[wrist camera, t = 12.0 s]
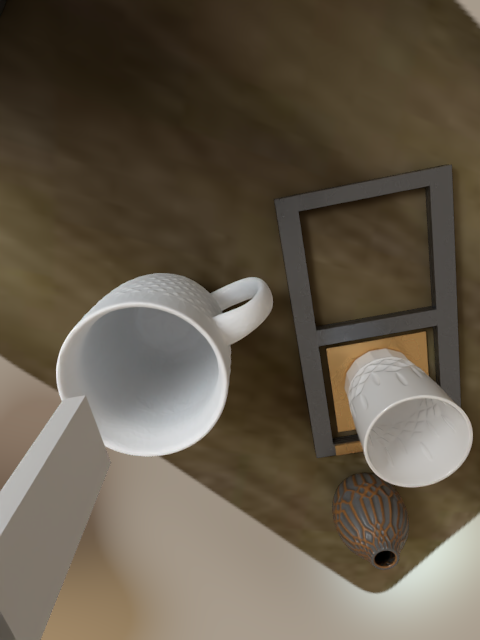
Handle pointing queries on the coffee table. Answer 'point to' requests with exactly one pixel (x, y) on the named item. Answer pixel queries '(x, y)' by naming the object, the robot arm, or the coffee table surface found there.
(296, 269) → the grey double frame
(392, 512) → the vase
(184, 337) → the mug
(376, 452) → the white cup
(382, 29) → the coffee table surface
